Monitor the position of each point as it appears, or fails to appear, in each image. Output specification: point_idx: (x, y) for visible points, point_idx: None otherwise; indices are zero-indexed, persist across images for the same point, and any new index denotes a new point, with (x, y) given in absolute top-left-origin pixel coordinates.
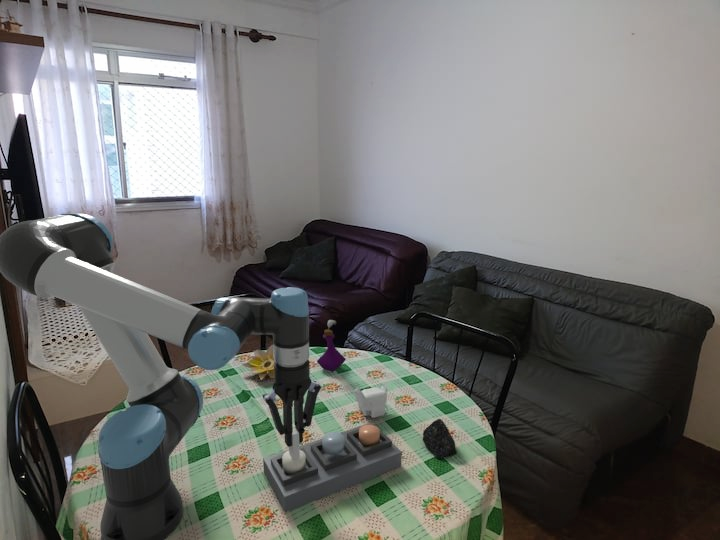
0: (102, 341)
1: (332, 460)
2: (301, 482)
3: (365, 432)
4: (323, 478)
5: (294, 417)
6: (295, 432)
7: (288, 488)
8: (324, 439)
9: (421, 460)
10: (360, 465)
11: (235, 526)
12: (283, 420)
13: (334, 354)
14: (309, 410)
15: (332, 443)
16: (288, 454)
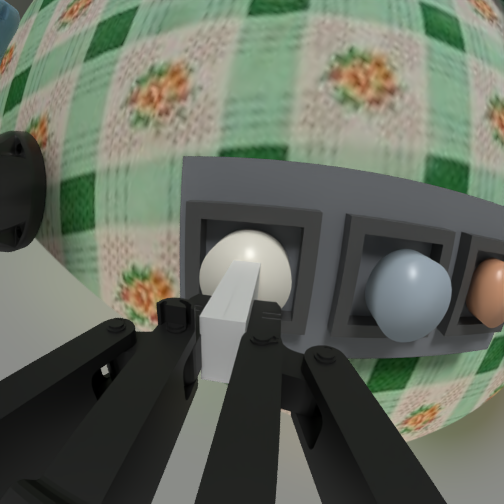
0: None
1: (361, 328)
2: None
3: (495, 298)
4: (304, 346)
5: (229, 382)
6: (224, 371)
7: None
8: (391, 290)
9: (494, 333)
10: (409, 351)
11: (105, 287)
12: (131, 363)
13: None
14: (324, 501)
15: (395, 327)
16: (231, 258)
